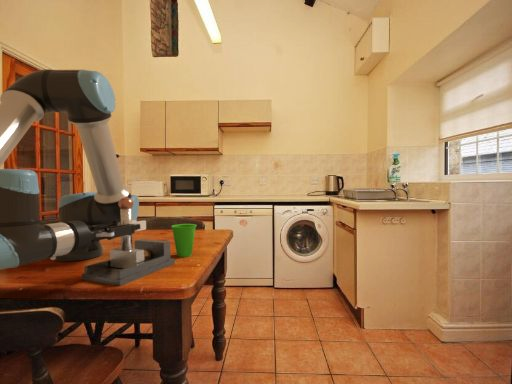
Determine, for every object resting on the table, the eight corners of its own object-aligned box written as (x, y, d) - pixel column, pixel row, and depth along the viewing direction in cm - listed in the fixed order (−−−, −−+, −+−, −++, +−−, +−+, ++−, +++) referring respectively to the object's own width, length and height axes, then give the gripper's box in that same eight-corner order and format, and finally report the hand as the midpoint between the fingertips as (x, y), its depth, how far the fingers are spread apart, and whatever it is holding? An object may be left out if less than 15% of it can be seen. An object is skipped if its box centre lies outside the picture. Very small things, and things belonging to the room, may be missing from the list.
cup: (200, 252, 107) (199, 223, 106) (192, 258, 98) (191, 227, 97) (177, 252, 107) (176, 223, 107) (167, 258, 98) (166, 227, 98)
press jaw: (135, 270, 79) (133, 197, 78) (109, 266, 83) (107, 197, 82) (145, 266, 83) (144, 197, 82) (120, 263, 86) (118, 196, 86)
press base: (120, 285, 72) (119, 256, 71) (81, 279, 77) (81, 252, 77) (174, 263, 92) (174, 240, 92) (141, 259, 97) (141, 238, 97)
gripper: (43, 251, 69) (121, 235, 90) (90, 257, 63) (161, 238, 85) (42, 221, 68) (120, 211, 90) (89, 223, 63) (160, 213, 84)
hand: (140, 224), depth 87 cm, fingers closed on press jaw, 3 cm apart
